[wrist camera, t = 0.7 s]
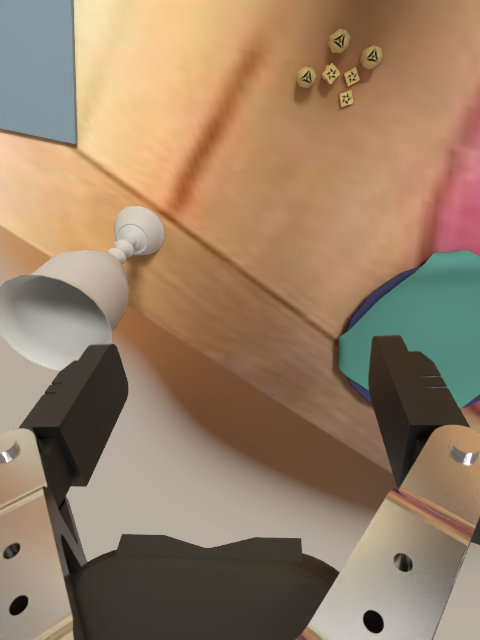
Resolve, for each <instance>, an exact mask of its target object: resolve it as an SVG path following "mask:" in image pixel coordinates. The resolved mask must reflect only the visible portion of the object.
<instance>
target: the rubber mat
mask: <svg viewBox="0 0 480 640" xmlns="http://www.w3.org/2000/svg"><path fill="white" fill-rule="evenodd" d="M0 128H1V129H5V130H10V131H15V132H20V133H24V134H29V135H34V136H39V137H43V138H48V139H53V140H58V141H62V142H67V143H72V144H77V117H76V81H75V45H74V9H73V0H0Z"/></svg>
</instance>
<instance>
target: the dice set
mask: <svg viewBox="0 0 480 640" xmlns="http://www.w3.org/2000/svg"><path fill="white" fill-rule="evenodd" d="M350 39H351V37H350V35H349V33H348V31H347V30H343V29H338V30H337V31H336V32H335V33H333V34H332V35H331V36H330V39H329V43H328V46H329V48H330V50H331V52H332V53H338V54H340V53H342V52H343V51H344V50H345V49H347V48H348V47H349V43H350ZM382 58H383V53H382V49H381V48H380V47H378V46H375V45H373V46H370V47H368V48H367V49H365V50H363V52H362V54H361V57H360V62H361V65H362V67H364V68H367V69H373V68H375V67H376V66H378V65H380V63H381V60H382ZM340 74H341V73H340V72H339V71H338V69H337V68H336V67H335V66H334V64H333V63H331V64H330V65H326V68H325V70H324V72H323V73H322V78H321V79H324V80H326V81H327V82H328V83H329V84H331V83H333V82H334V80H335V79H336V78H337V77H338V76H339V75H340ZM344 77H345V80H346V83H347V86H350V85H352V84H353V83H355V82H357V81H359V80H360V79H359V75H358V72H357V69H356V67H355V68H353V69H351V70H349V71H348V72H346V73H344ZM315 80H316V73H315V71H314V69H313V68H312V67H306V66H305V67H304V68H302V69H301V70H300V71H299V72H298V75H297V82H298V84H299V86H300V87H303V88H309V87H311V86H312V85H313V84H314V83H315ZM339 98H340V104H341V107H343V106H346V105H349V104H352V103H353V96H352V90H349V91H346V92H343V93H340V94H339Z"/></svg>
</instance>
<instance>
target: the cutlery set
mask: <svg viewBox="0 0 480 640" xmlns="http://www.w3.org/2000/svg"><path fill="white" fill-rule="evenodd" d="M383 335H400V336H401V337H402V339H403V341H404V343H405V345H406V347H407V349H408V351H409V352H412V351H420V352H422V353H423V354H424V355H425V356H427V357H428V358H429V359H430V360H432V361H433V362H434V364H435V365H436V367H437V369H438V371H439V373H440V374H441V377H442V378H443V380H444V381H445V383H446V385H447V388H448V389H449V390H450V392H451V394H452V396H453V398H454V399H455V401H456V403H457V405H458V407H459V408H460V409H461V408H464V407H467V406H469V405H471V404H473V403H475V402H477V401H479V400H480V257H479V256H477V255H476V254H475V253H472V252H470V251H467V250H458V251H453V252H438V253H434V254H433V255H432V256H431V257H430V258H429V259H428V260H427V261H426V263H425V264H424V265H422V266H419V267H416V268H414V269H411V270H408V271H405V272H403V273H400V274H398V275H397V276H395V277H394V278H392V279H391V280H389V281H388V282H386V283H385V284H384V285H382V286H381V287H379V288H378V289H376V290H375V291H373V292H372V293H371V294H370V295H369V297H368V298H367V299H366V300H365V301H364V303H363V304H362V305H361V306H360V307H359V308H358V310H357V311H356V312H355V313H354V314H353V316H352V318H351V321H350V323H349V326H348V328H347V331H346V333H345V334H344V335H342V336H341V337H339V360H338V367H339V368H340V370H341V371H342V372H343V373H344V374H345V375H346V376H347V377H348V380H349V382H350V384H351V386H352V387H353V388H354V389H355V390H356V391H357V392H358V393H359V394H360V395H361V396H362V397H363V398H364V399H365V400H366V401H368V402H370V403H372V401H371V398H370V394H369V386H368V374H369V364H370V354H371V344H372V338H373V336H383Z"/></svg>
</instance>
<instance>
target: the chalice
mask: <svg viewBox="0 0 480 640" xmlns="http://www.w3.org/2000/svg"><path fill="white" fill-rule="evenodd" d="M114 231H115V238H116V242H115V243H114V248H111V249H109V250H108V252H107V253H106V252H101V251H94V250H80V251H71V252H64V253H62V254H59V255H56V256H54V257H52V258H51V259H50V260H49V261H47V262H46V263H45V264H43V265H42V266H41V267H40V268H38V269H37V270H36V271H35V272H33V273H32V274H31V275H23V276H19V277H16V278H13V279H11V280H8V281H6V282H5V283H4V284H3V285H2V286H1V287H0V334H1V336H2V337H3V338H4V339H5V340H6V341H7V342H8V343H9V344H10V346H11V347H12V348H13V349H14V350H15V351H17V352H19V353H20V354H21V355H23V356H24V357H25V358H27V359H28V360H30V361H32V362H35V363H37V364H39V365H41V366H44V367H46V368H49V369H54V370H58V371H61V370H62V369H64V368H65V367H66V366H68V365H69V364H70V363H71V362H73V361H74V360H79V358H80V357H81V355H82V354H83V352H84V351H85V350H86V348H87V347H88V346H89V345H94V344H112V332H113V331H114V329H115V328H116V326H117V325H118V323H119V321H120V320H121V318H122V317H123V315H124V313H125V311H126V309H127V307H128V300H129V286H128V280H127V277H126V274H125V271H124V268H123V264H124V263H125V261H126V258H129V257H131V256H132V255H150V254H152V253H155V252H156V251H157V250H158V249H159V248H160V247H161V246H162V244H163V242H164V236H165V232H164V227H163V224H162V223H161V221H160V219H159V218H158V217H157V216H156V215H155V214H154V213H153V212H152V211H150V210H149V209H147V208H144V207H140V206H130V207H127V208H125V209H123V210H122V211H121V212H120V213H119V214H118V215H117V217H116V219H115V222H114Z"/></svg>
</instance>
